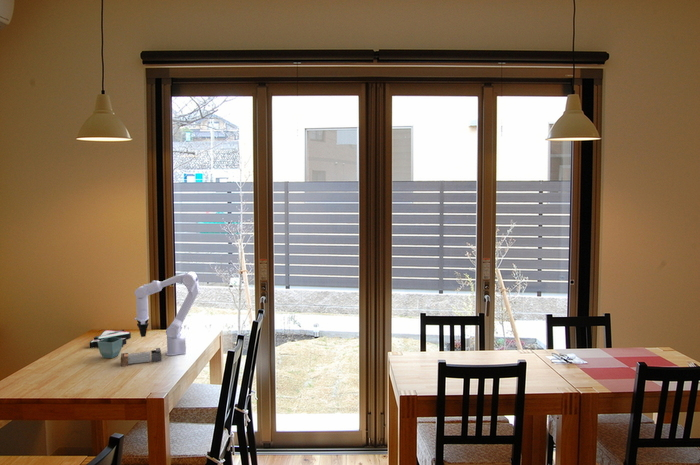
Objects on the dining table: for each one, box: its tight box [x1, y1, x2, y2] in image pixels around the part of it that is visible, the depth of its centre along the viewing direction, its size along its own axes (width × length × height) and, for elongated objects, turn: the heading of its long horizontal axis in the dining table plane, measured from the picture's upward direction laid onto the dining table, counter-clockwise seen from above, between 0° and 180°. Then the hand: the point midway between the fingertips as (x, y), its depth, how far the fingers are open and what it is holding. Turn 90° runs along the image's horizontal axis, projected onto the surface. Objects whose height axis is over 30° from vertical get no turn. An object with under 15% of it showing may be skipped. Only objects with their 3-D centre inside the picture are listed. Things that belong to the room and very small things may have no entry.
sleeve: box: [150, 347, 162, 363], centre depth 268 cm, size 4×6×5 cm
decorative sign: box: [89, 329, 132, 349], centre depth 302 cm, size 18×4×30 cm
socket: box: [120, 352, 129, 367], centre depth 262 cm, size 3×7×4 cm, turn 22°
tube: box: [124, 351, 151, 365], centre depth 264 cm, size 12×4×4 cm, turn 112°
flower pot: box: [97, 337, 123, 359], centre depth 274 cm, size 9×9×9 cm
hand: (143, 334), depth 277 cm, fingers open, 7 cm apart
